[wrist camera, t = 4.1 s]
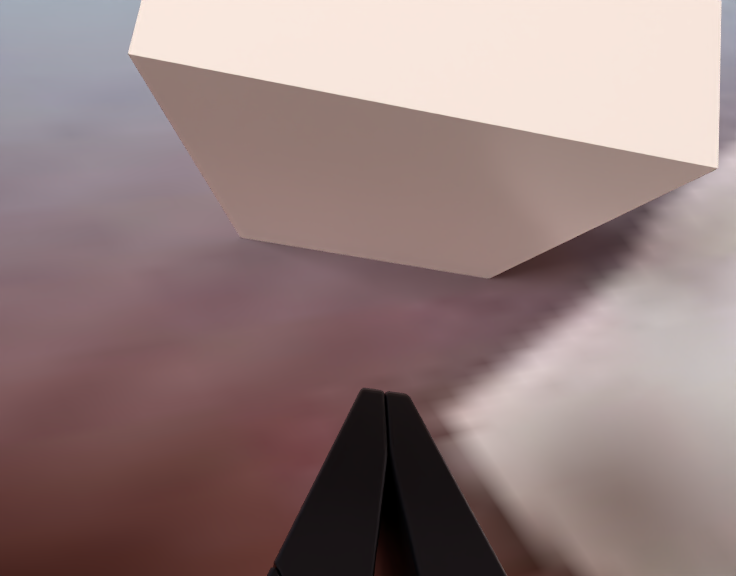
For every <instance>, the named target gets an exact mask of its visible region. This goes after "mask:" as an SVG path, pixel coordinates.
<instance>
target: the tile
mask: <svg viewBox="0 0 736 576" xmlns="http://www.w3.org/2000/svg"><path fill="white" fill-rule="evenodd" d="M720 44H721V1H719V0H142V1H141V5H140V9H139V13H138V17H137V21H136V25H135V29H134V33H133V36H132V40H131V44H130V48H129V52H128V55H129V56H130V58H131V59H132V61H133V63H134V64H135V66H136V68H137V69H138V71H139V73H140V74H141V76H142V77H143V79H144V81H145V82H146V84H147V86H148V87H149V89H150V91H151V92H152V94H153V95H154V97H155V99H156V100H157V102H158V104H159V105H160V107H161V109H162V110H163V112H164V113H165V115H166V117H167V118H168V120H169V122H170V123H171V125H172V127H173V128H174V130H175V131H176V133H177V135H178V136H179V138H180V140H181V141H182V143H183V145H184V146H185V148H186V149H187V151H188V153H189V154H190V156H191V158H192V159H193V161H194V163H195V164H196V166H197V167H198V169H199V171H200V172H201V174H202V176H203V177H204V179H205V181H206V182H207V184H208V185H209V187H210V189H211V190H212V192H213V194H214V195H215V197H216V198H217V200H218V202H219V203H220V205H221V207H222V208H223V210H224V212H225V213H226V215H227V216H228V218H229V220H230V221H231V223H232V225H233V226H234V228H235V230H236V231H237V233H238V234H239V236H240V238H246V239H252V240H258V241H264V242H270V243H276V244H282V245H288V246H294V247H300V248H306V249H312V250H318V251H325V252H331V253H337V254H343V255H349V256H355V257H361V258H367V259H373V260H379V261H385V262H391V263H397V264H403V265H409V266H415V267H421V268H427V269H433V270H439V271H445V272H451V273H457V274H463V275H469V276H475V277H481V278H487V279H489V278H492V277H494V276H496V275H498V274H500V273H502V272H504V271H506V270H508V269H510V268H512V267H514V266H516V265H519V264H521V263H523V262H525V261H527V260H529V259H531V258H533V257H535V256H537V255H539V254H541V253H543V252H546V251H548V250H550V249H552V248H554V247H556V246H558V245H560V244H562V243H564V242H566V241H568V240H570V239H573V238H575V237H577V236H579V235H581V234H583V233H585V232H587V231H589V230H591V229H593V228H595V227H597V226H600V225H602V224H604V223H606V222H608V221H610V220H612V219H614V218H616V217H618V216H620V215H622V214H624V213H627V212H629V211H631V210H633V209H635V208H637V207H639V206H641V205H643V204H645V203H647V202H649V201H651V200H654V199H656V198H658V197H660V196H662V195H664V194H666V193H668V192H670V191H672V190H674V189H676V188H678V187H681V186H683V185H685V184H687V183H689V182H691V181H693V180H695V179H697V178H699V177H701V176H703V175H705V174H708V173H710V172H712V171H714V170H716V169H718V151H719V97H720Z"/></svg>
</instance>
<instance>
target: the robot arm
mask: <svg viewBox="0 0 736 576" xmlns="http://www.w3.org/2000/svg"><path fill="white" fill-rule="evenodd" d="M267 576H507V575H506V573H505V571H504V569H503V568H502V566H501V564H500V562H499V560H498V558H497V556H496V555H495V553H494V551H493V549H492V547H491V545H490V544H489V542H488V540H487V538H486V536H485V534H484V533H483V531H482V529H481V527H480V525H479V523H478V522H477V520H476V518H475V516H474V514H473V512H472V510H471V509H470V507H469V505H468V503H467V501H466V499H465V498H464V496H463V494H462V492H461V490H460V488H459V487H458V485H457V483H456V481H455V479H454V477H453V476H452V474H451V472H450V470H449V468H448V466H447V464H446V463H445V461H444V459H443V457H442V455H441V453H440V452H439V450H438V448H437V446H436V444H435V442H434V441H433V439H432V437H431V435H430V433H429V431H428V430H427V428H426V426H425V424H424V422H423V420H422V418H421V417H420V415H419V413H418V411H417V409H416V407H415V406H414V404H413V402H412V400H411V398H410V397H409V396H408V395H407V394H404V393H398V392H391V391H388V392H386V393H385V394H384V392H383V391H382V390H377V389H370V388H362V389H361V390H360V392H359V394H358V396H357V398H356V400H355V402H354V404H353V406H352V408H351V410H350V412H349V414H348V416H347V418H346V420H345V422H344V424H343V426H342V428H341V430H340V432H339V434H338V436H337V438H336V440H335V442H334V444H333V446H332V448H331V450H330V452H329V454H328V456H327V458H326V460H325V462H324V463H323V465H322V467H321V469H320V471H319V473H318V475H317V477H316V479H315V481H314V483H313V485H312V487H311V489H310V491H309V493H308V495H307V497H306V499H305V501H304V503H303V505H302V507H301V509H300V511H299V513H298V515H297V517H296V519H295V521H294V523H293V525H292V527H291V529H290V531H289V533H288V535H287V537H286V539H285V541H284V543H283V545H282V547H281V549H280V551H279V553H278V555H277V557H276V559H275V561H274V565H273V567H272V568H271V569H270V570H269V572H268V574H267Z"/></svg>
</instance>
